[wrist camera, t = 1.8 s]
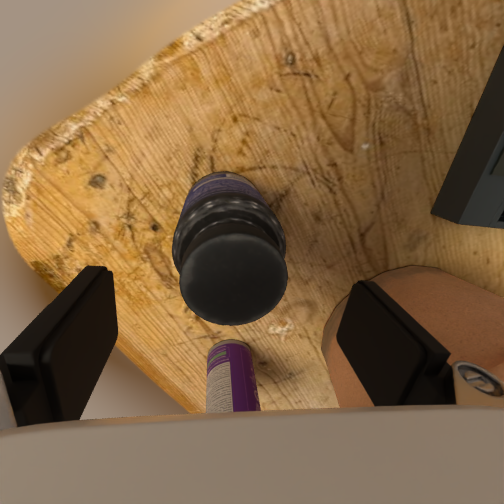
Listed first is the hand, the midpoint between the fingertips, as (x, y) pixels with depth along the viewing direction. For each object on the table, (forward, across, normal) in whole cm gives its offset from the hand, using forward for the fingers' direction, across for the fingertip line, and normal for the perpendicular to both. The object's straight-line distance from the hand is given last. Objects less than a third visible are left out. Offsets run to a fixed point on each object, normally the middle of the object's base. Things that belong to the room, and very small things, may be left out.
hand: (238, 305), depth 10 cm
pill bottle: (+12, 0, 0) cm, 12 cm away
